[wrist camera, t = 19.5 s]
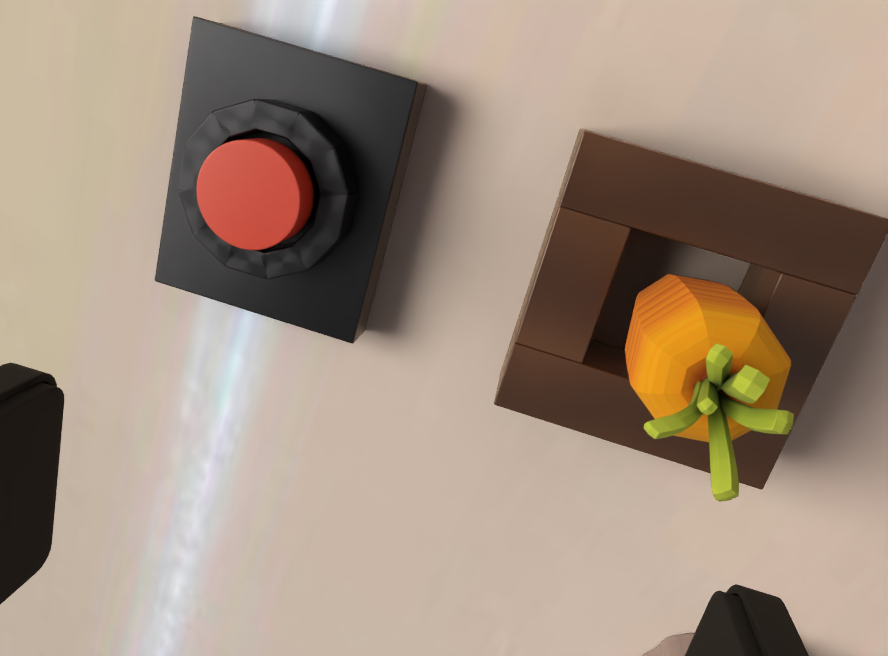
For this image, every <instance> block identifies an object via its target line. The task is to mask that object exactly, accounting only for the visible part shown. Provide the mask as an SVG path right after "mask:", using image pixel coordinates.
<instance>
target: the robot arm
mask: <svg viewBox="0 0 888 656" xmlns="http://www.w3.org/2000/svg"><path fill="white" fill-rule="evenodd" d="M63 409H64V394H63V391H62V390H61V389H60V388H58V387H57V384H56V381H55V378H54V377H53V376H52V375H50V374H47V373H44V372H41V371H38V370H34V369H31V368H28V367H25V366H21V365H18V364H14V363H7V364H4V365H1V366H0V604H1V603H2V602H4V601H5V600H6V599H7V598H8V597H9V596H10V595H12V594H13V593H14V592H15V591H16V590H17V589H18V588H19V587H21V586H22V585H23V584H24V583H25V582H26V581H27V580H29V579H30V578H31V577H32V576H33V575H34V574H35V573H36V572H37V571H38V570H39V569H40V568H41V567H42V565H43V564H44V563H45V561H46V559H47V557H48V555H49V552H50V550H51V544H52V534H53V523H54V511H55V500H56V489H57V477H58V466H59V454H60V443H61V431H62V420H63ZM685 656H809V655H808V653H807V651H806V649H805V647H804V644H803V642H802V640H801V638H800V636H799V634H798V632H797V630H796V628H795V625H794V623H793V621H792V619H791V617H790V615H789V613H788V611H787V609H786V606H785V604H784V603H783V601H782V600H781V599H780V598H778V597H776V596H773V595H769V594H766V593H763V592H759V591H756V590H753V589H750V588H746V587H743V586H740V585H737V584H736V585H733V586H731V587H730V588H729V589H728V591H727V592H726V593H725V592H722V591H716V592H715V593H714V594H713V595H712V597H711V599H710V601H709V603H708V605H707V608H706V610H705V612H704V614H703V616H702V619H701V621H700V623H699V625H698V627H697V630H696V632H695V634H694V636H693V638H692V641H691V643H690V645H689V647H688V649H687V652H686V654H685Z"/></svg>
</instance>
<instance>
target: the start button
mask: <svg viewBox="0 0 888 656" xmlns="http://www.w3.org/2000/svg"><path fill="white" fill-rule="evenodd" d="M197 199H198V204H199V208H200V211H201V213H202V216H203V217H204V219H205V221H206V223H207V224H208V226H209V227H210V228H211V229H212V230H213V232H214V233H215V234H216V235H217V236H219V237H220V238H221V239H222V240H224V241H225V242H227V243H229V244H231V245H233V246H235V247H238V248H241V249H246V250H262V249H266V248H269V247H272V246H274V245H276V244H279V243H281V242H283V241H285V240H287V239H289V238H291V237H293V236H294V235H296V234H297V233H298V232H299V231H300V230H301V229H302V228H303V227H304V226H305V224H306V223H307V221H308V219H309V217H310V215H311V212H312V208H313V203H314V188H313V183H312V179H311V176H310V173H309V171H308V169H307V167H306V165H305V164H304V162H303V161H302V160H301V158H300V157H299V156H298V155H297V154H296V153H295V152H294V151H293V150H291V149H290V148H289V147H287V146H286V145H284V144H282V143H280V142H277V141H274V140H270V139H264V138H256V139H243V140H235V141H230V142H228V143H225V144H223V145H221V146H219V147H218V148H216V149H215V150H214V151H213V152H212V153H211V154H210V155H209V156H208V157H207V158H206V160H205V161H204V163H203V165H202V167H201V169H200V172H199V175H198V180H197Z"/></svg>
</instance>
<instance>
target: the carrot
mask: <svg viewBox="0 0 888 656" xmlns="http://www.w3.org/2000/svg"><path fill="white" fill-rule="evenodd" d="M625 355H626V364H627V369H628V375H629V380H630V384H631V386H632V388H633V389H634V391H635V392H636V393H637V395H638V396H639V398H640V399H641V400H642V402H643V403H644V405H645V406H646V407H647V409H648V410H649V412H650V413H651V414H652V416H653V417H654V420H651V421H648V422H646V423H645V424H644V429H645V431H646V432H647V433H648V434H649V435H650V436H651V437H653V438H654V439H660V438H666V437H669V436H672V435H673V436H678V437H684V438H689V439H694V440H699V441H705V442H709V449H710V470H711V485H712V493H713V496H714V498H715V499H716V500H718V501H727V500H731V499H733V498H735V497H738V494H739V481H738V472H737V465H736V460H735V455H734V450H733V445H732V440H734V439H736V438H738V437H740V436H741V435H743V434H745V433H747V432H749V431H751V430H754V431H758V432H763V433H770V434H788V433H789V431H790V429H791V427H792V425H793V418H794V414H793V413H791V412H789V411H785V410H777V408H778V405H779V402H780V399H781V396H782V392H783V389H784V386H785V383H786V380H787V376H788V373H789V370H790V367H791V359H790V358H789V356H788V355H787V353H786V352H785V350H784V349H783V347H782V346H781V344H780V343H779V341H778V340H777V338H776V337H775V335H774V334H773V332H772V331H771V329H770V328H769V326H768V325H767V323H766V322H765V320H764V319H763V317H762V316H761V314H760V313H759V311H758V310H757V308H756V307H754V306H753V305H752V304H751V303H750V302H748V301H747V300H746V299H745V298H744V297H742V296H741V295H740V294H738V293H737V292H736V291H734V290H733V289H731V288H730V287H728V286H727V285H724V284H720V283H717V282H713V281H707V280H701V279H695V278H689V277H683V276H677V275H671V274H667V275H666V276H664V277H662V278H661V279H659V280H658V281H656V282H655V283H653V284H651V285H650V286H648V287H647V288H645V289H644V290H642V291H640V292H639V293H638V295H637V297H636V301H635V306H634V310H633V314H632V319H631V323H630V327H629V331H628V336H627V340H626V345H625Z"/></svg>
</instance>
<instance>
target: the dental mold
mask: <svg viewBox="0 0 888 656" xmlns="http://www.w3.org/2000/svg"><path fill="white" fill-rule="evenodd" d="M694 634H695V633H692V634H683V635H675V636H671V637H668V638H666V639H665V640H663V641H662V642H661V644H660V645H659V646H658V647H656V648H655V649H653V650H651V651H649V652H647V653H646V654H644V655H643V656H685V654H686V652H687V649H688V647H689V645H690V643H691V641H692V638H693V636H694Z"/></svg>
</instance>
